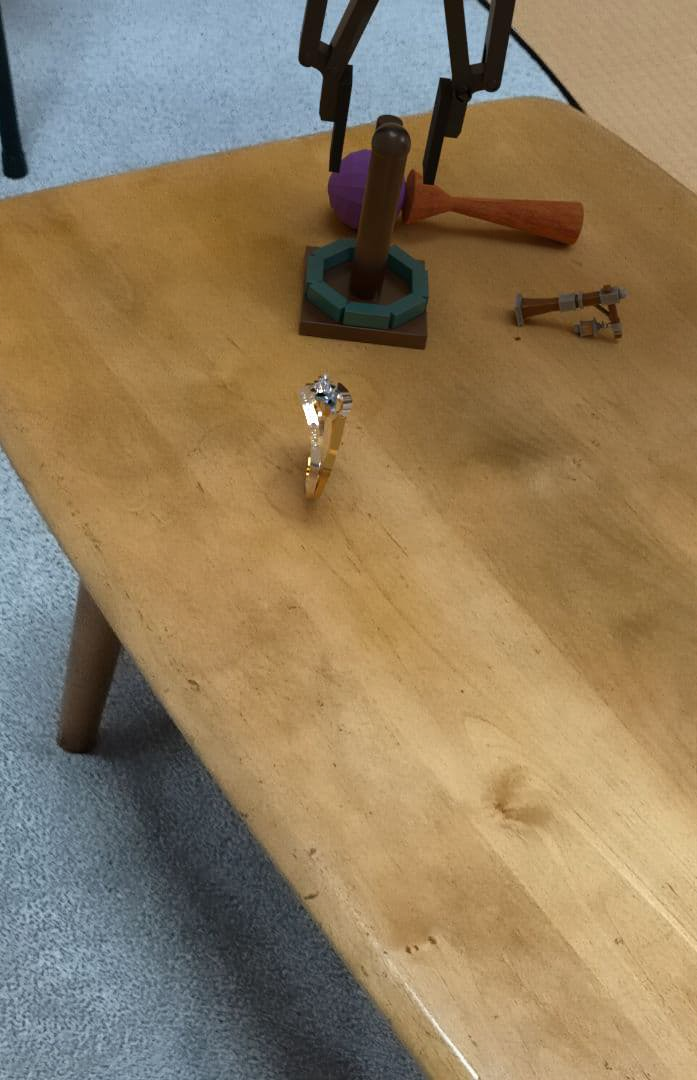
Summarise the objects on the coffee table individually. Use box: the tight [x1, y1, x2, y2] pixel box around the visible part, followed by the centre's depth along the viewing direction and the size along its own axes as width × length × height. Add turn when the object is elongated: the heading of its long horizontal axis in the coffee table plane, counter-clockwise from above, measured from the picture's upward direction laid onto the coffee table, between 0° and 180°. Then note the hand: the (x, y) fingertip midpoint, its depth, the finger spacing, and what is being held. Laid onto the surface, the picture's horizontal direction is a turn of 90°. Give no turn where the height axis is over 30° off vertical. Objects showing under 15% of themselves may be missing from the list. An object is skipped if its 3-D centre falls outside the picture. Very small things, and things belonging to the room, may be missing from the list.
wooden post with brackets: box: [513, 284, 629, 340], centre depth 91 cm, size 2×8×4 cm, turn 79°
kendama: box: [327, 148, 585, 246], centre depth 96 cm, size 6×6×20 cm
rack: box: [298, 123, 428, 350], centre depth 85 cm, size 9×9×14 cm
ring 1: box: [298, 371, 354, 500], centre depth 75 cm, size 7×3×8 cm, turn 176°
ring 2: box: [305, 114, 430, 330], centre depth 86 cm, size 9×9×11 cm
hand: (381, 167), depth 86 cm, fingers open, 6 cm apart
